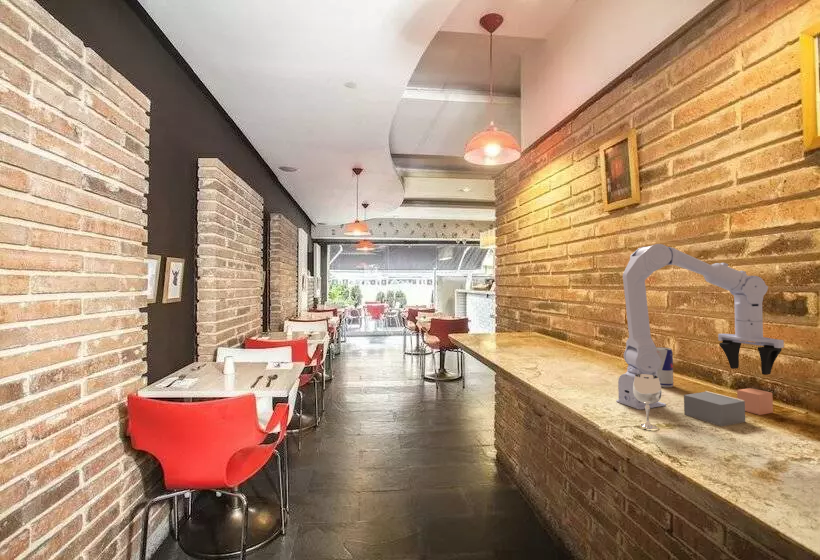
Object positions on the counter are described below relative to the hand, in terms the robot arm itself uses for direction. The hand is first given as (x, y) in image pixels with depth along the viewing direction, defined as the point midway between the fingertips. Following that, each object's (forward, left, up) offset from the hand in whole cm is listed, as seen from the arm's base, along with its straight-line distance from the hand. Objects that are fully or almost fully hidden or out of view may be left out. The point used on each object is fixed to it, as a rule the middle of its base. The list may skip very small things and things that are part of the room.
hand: (749, 371), depth 107 cm
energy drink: (-2, +24, -10) cm, 26 cm away
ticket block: (-18, -3, -9) cm, 21 cm away
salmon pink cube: (-3, -3, -9) cm, 10 cm away
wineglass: (-38, -2, -10) cm, 39 cm away
